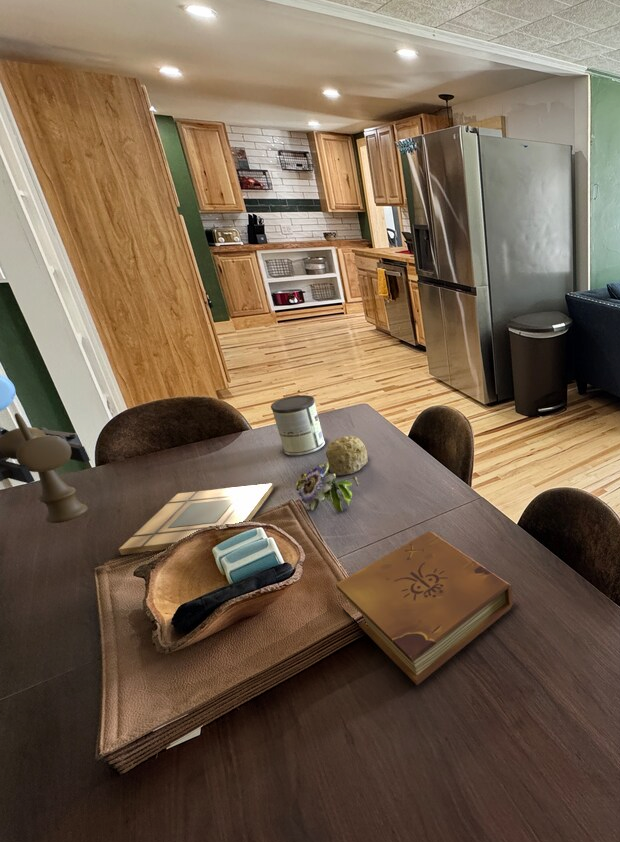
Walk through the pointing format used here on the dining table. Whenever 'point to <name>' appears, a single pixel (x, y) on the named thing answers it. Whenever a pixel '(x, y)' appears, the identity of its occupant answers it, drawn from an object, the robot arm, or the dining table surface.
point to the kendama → (44, 468)
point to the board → (196, 515)
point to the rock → (346, 455)
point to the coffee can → (298, 424)
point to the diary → (426, 602)
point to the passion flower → (323, 488)
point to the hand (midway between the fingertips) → (57, 464)
